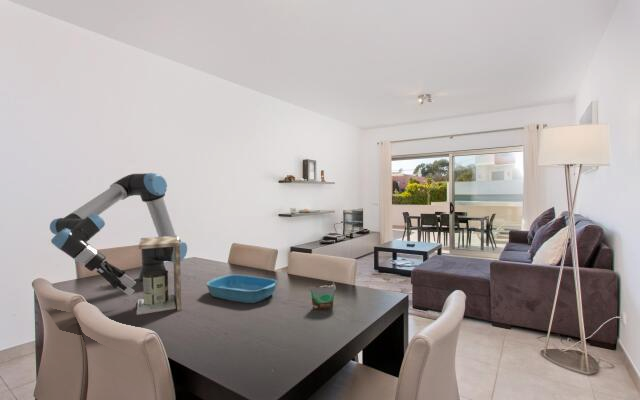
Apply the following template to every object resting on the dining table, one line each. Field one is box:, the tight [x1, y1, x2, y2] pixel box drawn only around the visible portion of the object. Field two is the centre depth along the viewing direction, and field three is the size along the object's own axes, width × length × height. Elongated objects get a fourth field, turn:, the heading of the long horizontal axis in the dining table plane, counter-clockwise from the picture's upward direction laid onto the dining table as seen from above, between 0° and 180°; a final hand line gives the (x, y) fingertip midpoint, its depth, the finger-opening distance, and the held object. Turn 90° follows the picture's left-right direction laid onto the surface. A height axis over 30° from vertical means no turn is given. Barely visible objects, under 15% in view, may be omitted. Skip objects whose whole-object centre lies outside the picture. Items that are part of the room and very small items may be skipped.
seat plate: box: [136, 294, 177, 316], centre depth 147 cm, size 15×18×2 cm
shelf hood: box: [138, 235, 182, 312], centre depth 148 cm, size 16×24×30 cm, turn 27°
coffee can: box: [142, 269, 169, 307], centre depth 147 cm, size 10×10×14 cm
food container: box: [309, 282, 337, 311], centre depth 142 cm, size 12×6×10 cm, turn 117°
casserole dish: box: [206, 274, 278, 304], centre depth 161 cm, size 37×22×7 cm, turn 63°
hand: (133, 289), depth 143 cm, fingers open, 13 cm apart
